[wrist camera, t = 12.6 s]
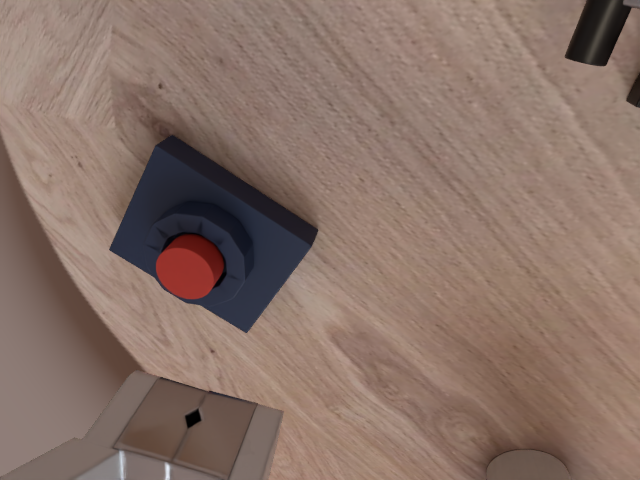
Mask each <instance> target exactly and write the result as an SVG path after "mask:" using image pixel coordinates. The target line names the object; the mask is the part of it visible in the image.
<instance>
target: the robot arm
mask: <svg viewBox="0 0 640 480" xmlns="http://www.w3.org/2000/svg"><path fill="white" fill-rule="evenodd" d="M283 413H284V411H282V410H278V409H274V408H271V407H267V406H263V405H260V404H258V403H255V402H251V401H247V400H243V399H239V398H235V397H232V396H228V395H224V394H220V393H216V392H212V391H209V392H208V391H205V390H202V389H199V388H195V387H192V386H189V385H185V384H182V383H179V382H176V381H172V380H169V379H166V378H163V377H159V376H156V375H152V374H149V373H145V372H142V371H138V370H136V371H135V372H133V373H132V374H131V375H129V376H128V377H127V379H126V380H125V382H124V383H123V384H122V386H121V387H120V388H119V390H118V391H117V393H116V394H115V395H114V397H113V398H112V399H111V401H110V402H109V403H108V405H107V406H106V408H105V409H104V410H103V412H102V413H101V414H100V416H99V417H98V419H97V420H96V421H95V423H94V424H93V425H92V427H91V428H90V429H89V431H88V432H87V434H86V435H85V437H84V438H83V439H78V438H73V439H71V440H69V441H67V442H65V443H63V444H61V445H60V446H58V447H56V448H54V449H52V450H50V451H48V452H46V453H45V454H43V455H41V456H39V457H37V458H35V459H33V460H31V461H30V462H28V463H26V464H24V465H22V466H20V467H18V468H16V469H15V470H13V471H11V472H9V473H7V474H5V475H3V476H1V477H0V480H268V478H269V475H270V471H271V467H272V463H273V458H274V454H275V450H276V446H277V441H278V437H279V432H280V428H281V423H282V418H283Z"/></svg>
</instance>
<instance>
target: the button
mask: <svg viewBox="0 0 640 480" xmlns="http://www.w3.org/2000/svg"><path fill="white" fill-rule="evenodd" d="M223 269H224V261H223V257H222V254H221V252H220V251H219V249H218V248H217V247H216V246H215V244H213V243H212V242H211V241H210V240H208V239H206V238H205V237H202V236H200V235H196V234H185V235H181V236H179V237H177V238H176V239H174V240H173V241H172V243H171V244H170V245H169V246H168V247H167V248H166V249H165V250H164V251H163V252H162V253H161V254H160V255H159V257H158V259H157V262H156V272H157V275H158V278H159V280H160V281H161V283H162V284H163V285H164V286H165V287H166V288H167V289H168V290H169V291H170V292H172V293H173V294H175V295H177V296H179V297H182V298H186V299H198V298H202V297H204V296H205V295H207V294H208V293H209V292H210V291H211V289H212V288H213V286H214V285H215V283H216V282H217V280H218V279H219V277H220V276H221V274H222V272H223Z"/></svg>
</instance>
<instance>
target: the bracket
mask: <svg viewBox="0 0 640 480" xmlns="http://www.w3.org/2000/svg"><path fill="white" fill-rule="evenodd" d="M627 102H629V103H631V104H632V105H634V106H636V107H639V108H640V73H639V75H638V78H637V80H636V82H635V84H634V86H633V88H632V90H631V92H630V94H629V96H628V98H627Z"/></svg>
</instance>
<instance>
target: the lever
mask: <svg viewBox="0 0 640 480" xmlns="http://www.w3.org/2000/svg"><path fill="white" fill-rule="evenodd" d="M631 8H638V9H640V0H587V1H586V4H585V6H584V9H583V11H582V14H581V16H580V19H579V21H578V24H577V26H576V29H575V31H574V34H573V36H572V39H571V41H570V44H569V46H568V49H567V52H566V54H565V58H567V59H570V60H573V61H577V62H581V63H585V64H590V65H595V66H606V64H607V62H608V60H609V58H610V55H611V53H612V51H613V49H614V46H615V44H616V42H617V40H618V37H619V35H620V33H621V31H622V28H623V26H624V24H625V22H626V19H627V17H628V15H629V13H630V10H631Z"/></svg>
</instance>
